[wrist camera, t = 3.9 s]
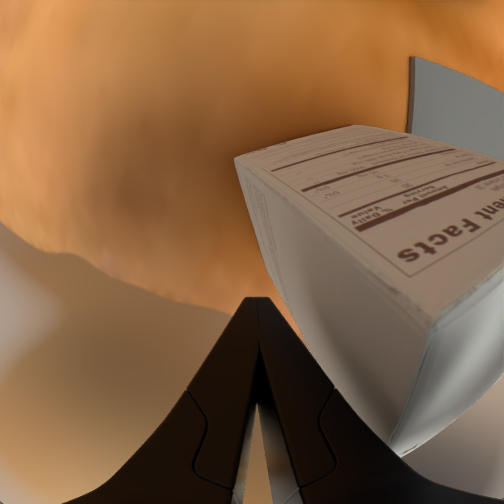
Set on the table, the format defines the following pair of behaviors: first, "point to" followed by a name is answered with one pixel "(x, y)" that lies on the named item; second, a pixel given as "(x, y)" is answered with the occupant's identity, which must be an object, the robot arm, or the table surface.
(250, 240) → the table surface
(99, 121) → the table surface
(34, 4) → the table surface
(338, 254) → the supplement box
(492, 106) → the mat
